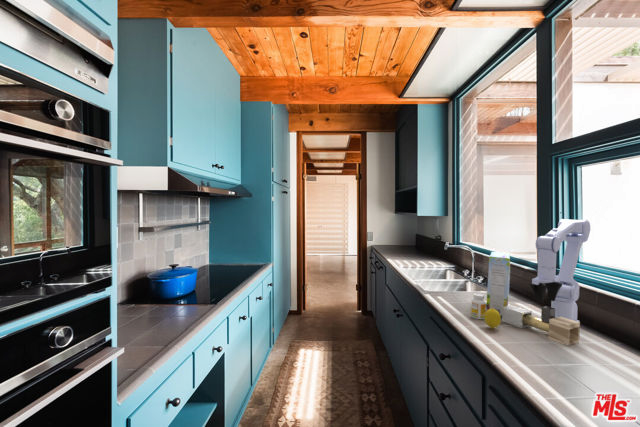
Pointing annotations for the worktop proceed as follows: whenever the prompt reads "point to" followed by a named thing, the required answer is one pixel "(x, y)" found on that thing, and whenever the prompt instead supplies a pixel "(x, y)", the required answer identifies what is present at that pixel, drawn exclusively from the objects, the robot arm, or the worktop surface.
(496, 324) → the lemon
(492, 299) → the snack box
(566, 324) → the socket block
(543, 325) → the tube
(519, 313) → the sleeve
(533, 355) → the worktop surface
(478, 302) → the supplement bottle
